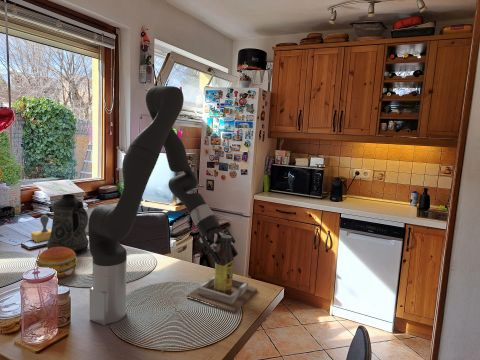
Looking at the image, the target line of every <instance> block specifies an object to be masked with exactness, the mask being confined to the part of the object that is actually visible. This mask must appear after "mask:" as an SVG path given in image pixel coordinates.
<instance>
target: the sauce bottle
mask: <svg viewBox="0 0 480 360" xmlns="http://www.w3.org/2000/svg"><path fill="white" fill-rule="evenodd" d="M232 236H233V235H232ZM232 236H230V235H221V236H220V241H221V243H220V245H219V250H218V251H217V252H218V254H219V255H220V257H221V259H222V262H221V263H220V264H217V263H216V262H215V263H214V276H215V278H214V291H217V292H220V293H224V294H229V293H230V292H231V288H232V278H233V274H234V261H235V259H234V258H235V257H233V254H232V251H231V241H232ZM233 279H234V278H233Z"/></svg>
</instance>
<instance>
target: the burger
mask: <svg viewBox="0 0 480 360" xmlns="http://www.w3.org/2000/svg"><path fill="white" fill-rule="evenodd" d="M76 255H77V254H75V252H74V251H73V250H72V249H69V248H67V247H53V248H49V249H48V248H47V249H45V250H43V251H42V252H41V253H40V254H39V255H38V257H39V259H38V257H37V259H38V261H37V259H36V267H37V266H39V267H49V268H53V269H55V270H56V271H57V277H58V278H57V279H61V278H65V277H68V276H69V275H71V274H73V273H74V272H75V270H76V268H77V263H78V259H77V256H76Z"/></svg>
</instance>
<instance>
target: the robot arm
mask: <svg viewBox="0 0 480 360" xmlns="http://www.w3.org/2000/svg"><path fill="white" fill-rule="evenodd" d="M184 100H185V99H184V93H183V91H182V90H181V88H179V87H177V86H174V85H173V86H172V85H153V86H151V87H149V88H148V89H147V91H146V94H145V104H146V107H147V110H148V113H149V115H150V117H151V120H152V121H151V123H149V125H148V126H146V127H145V128H144V129H143V130H142V131H141V132H140V133H138V134H137V135H136V136H135V138H133V140H132V141H131V142H130V144H129V146H128V148H127V151H126V153H125V155H124V156H123V159H122V163H121V164H122V165H121V168H122V178H123V179H122V181H123V185H122V186H123V187H122V191H121V194H120V196H119V199H118V202H117V203H116V205H111V204H99V205H97V206H95V207H94V209H93V210H92V211H91V213H90V215H89V216H88V224H87V229H88V241H89V243H88V247H89V248H88V250H89V252H90V255H91V257H92V286H91V287H90V288H89V320H90V321H92V322H95V323H98V324H99V325H102V326H106V325H108V324H112V323H117V322H119V321H121V320H122V319H123V318H125V316H126V315H127V268H128V267H127V259H128V257H127V256H128V255H127V253H128V252H127V249H126V248H125V247H124V246H123V245H122V244H121V243H120V241H123V240H125V238H127V237H128V236H129V234H130V232H131V231H132V229H133V227H134V225H135V221H136V219H137V215H138V212H139V208H140V205H141V201H142V199H143V197H144V194H145V190H146V189H147V186H148V183H149V180H150V179H151V178H150V177H151V176H152V174H153V171H154V169H155V167H156V165H157V162H158V160H159V157H160V154H161V152H162V149H163V148H164V152H165V156H166V159H167V164H168V168H169V170H170V171H171V172H172V173H181V172H183V173H181V174H179V175H175V176H172V177H171V178H170V179H169V180H168V182H167V183H168V184H167V185H168V186H167V187H168V189H169V190H170V192H171V193H172V195H174V196H175V197H176V198H177V199H178V200H179V201H180V203H182V205H184V207H185V208H186V210H187V212H188V214H189V215H190V217H191V220H192V222H193V223H194V225H195V227H196V229H197V231H198V232H199V234H200V235H201V237H199V238H198V242H199V243H198V244H199V245H200V247H201V249H202V251H203V253H204V254H205V255H206V256H207V255H210V256H211V257H212V259H213V261H214V262H215V263H217V264H220V263H221V262H222V259H221V257H220V255H219V254H218V251H217V246H220V243H221V241H220V236H221V235H230V236H232V241H231V251H232V254H233V258H236V257H237V256H238V254H239V253H238V251H237V250H236V248H235V246H234V244H235V243H236V240H235V238H234V236H233V235H232V234H231V232H230V230H229V228H225V229H221V224H220V222H219V220H218V218H217V217H216V216H215V213H214V212H213V211H212V209H211V208H210V207H209V206H208V204H207V203H206V201H205V199H204V197H203V196H202V194H201V193H199V192H193V193H189V192H190V191H193V190H195V189H196V188H197V186H198V178H197V177H196V175H195V174H194V172H193V170H192V167H191V165H190V163H189V160H188V155H187V152H186V151H187V150H186V147H185V145H184V143H183V141H182V139H181V138H180V136H179V135H178V134H177V132H176V131H175V130H174V128H173V126H174V125H175V123H176V121H177V120H178V117H179V115H180V113H181V111H182V109H183V106H184Z"/></svg>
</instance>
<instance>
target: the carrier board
mask: <svg viewBox="0 0 480 360" xmlns="http://www.w3.org/2000/svg"><path fill="white" fill-rule="evenodd" d="M214 278H215V275H213V276H212V277H210V278H209V279H208V280H207V281H205V282H203V283H202V284H200V285H199V286H197V288H196V289H194V290H193V291H191V292H190V293H188V294H186V298H187V297H191V298H193V299H197V300H199V301H203V302H206V303H209V304H211V305H214V306H216V307H219V308H221V309H220V310H222V309H224V310H223V311H225V310H227V311H226V312H228V311H229V312H228V313H231V312H232V314H235V313H237V311H238V310H239V309H240V308H241V307H243V306H244V304H246V303H247V302H248V300H249V299H250V298H252V297H253V296H254V294H256V293H257V292H258V288H257V287H255V286H252V285H251V286H250V285H249V282H247V281H244V280H240V279H237V278H232V288H231V292H230V293H229V294H224V293H220V292H217V291H214ZM216 307H215V308H216ZM219 308H218V309H219Z"/></svg>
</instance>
